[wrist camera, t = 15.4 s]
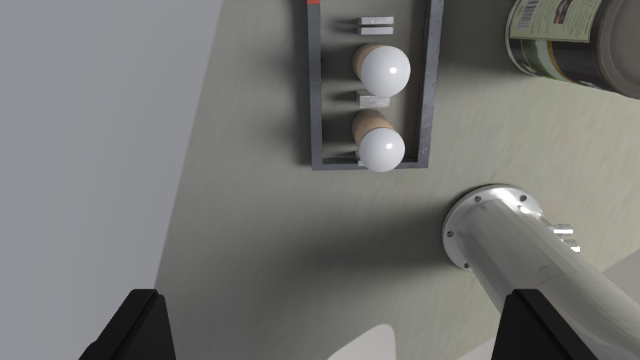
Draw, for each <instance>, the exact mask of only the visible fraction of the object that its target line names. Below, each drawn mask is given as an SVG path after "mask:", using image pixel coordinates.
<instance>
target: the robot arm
mask: <svg viewBox="0 0 640 360" xmlns="http://www.w3.org/2000/svg"><path fill="white" fill-rule="evenodd" d="M572 231H573V230H572V227H571V225H569V224H558V225H552V224H551V223H549V222H548V221H547V220H546V219H545V218H544V213H543V211H542V208H541V206H540V205H539V203H538V202H537V201H536V199H535V198H533V197H532V196H531V195H530V194H529V193H527V192H526V191H524V190H523V189H521V188H518V187H515V186H512V185H505V184H494V185H489V186H484V187H481V188H478V189H476V190H474V191H472V192H470V193H468V194H466V195H465V196H464V197H462V198H461V199H460V200H459V201H457V203H456V204H455V205H454V206H453V207H452V208H451V209H450V211H449V213H448V214H447V216H446V218H445V221H444V223H443V227H442V243H443V247H444V249H445V251H446V253H447V255H448V256H449V258H450V259H451V260H452V262H453V263H455V264H456V265H457V266H458V267H460V268H461V269H463V270H465V271H468V272H471V273H474V274H475V276H476V277H477V279H478V280H479V282H480V283H481V285H482V286H483V288H484V289H485V291H486V293H487V294H488V296H489V297H490V299H491V300H492V302H493V303H494V305H495V307H496V308H497V310H498V311H499V313H500V314H501V319H500V324H499V328H498V332H497V336H496V341H495V345H494V349H493V353H492V358H491V360H640V306H639V305H638V304H637V303H635V302H634V301H633V300H632V299H630V298H629V297H628V296H627V295H626V294H624V293H623V292H622V291H621V290H620V289H618V288H617V287H616V286H615V285H614V284H613V283H612V282H610V281H609V280H608V279H607V278H606V277H604V276H603V275H602V274H601V273H600V272H599V271H598V270H597V269H595V268H594V267H593V266H592V265H591V264H590V263H588V262H587V261H586V260H585V259H584V258H583V257H581V256H580V255H579V254H578V252H579V246H578V243H577V242H576V241H575V240H562V239H561V238H560V237H558V236H570V235H571V234H572ZM557 235H558V236H557ZM79 360H176V356H175V351H174V345H173V340H172V335H171V329H170V324H169V318H168V313H167V308H166V302H165V298H164V296H163V295H159V294H158V291H157V290H156V289H134V290H132V291H131V292H130V293H129V295H128V296H127V298H126V299H125V300H124V302H123V303H122V305H121V306H120V307H119V309H118V310H117V312H116V313H115V315H114V316H113V317H112V319H111V320H110V322H109V323H108V324H107V326H106V327H105V329H104V330H103V331H102V333H101V334H100V336H99V337H98V339H97V340H96V341H95V342H93V343H91V344H90V345H89V346H88V347H87V349H86V350H85V351H84V353H83V354H82V355H81V357H80V358H79Z"/></svg>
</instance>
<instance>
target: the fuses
mask: <svg viewBox="0 0 640 360" xmlns="http://www.w3.org/2000/svg"><path fill="white" fill-rule="evenodd" d="M352 66H353V70H354V72H355V74H356V75H357V77H358V78H359V79H360V80H361V81H362V83H363V85H364V87H365V88H366V89H367V90H368V91H369V92H370V93H372V94H373V95H375V96H378V97H390V96H393V95H395V94H397V93H398V92H400V91H401V90H402V89H403V88H404V87H405V85H406V84H407V82H408V80H409V76H410V63H409V60H408V58H407V57H406V55H405V54H404V53H403V52H402V51H401V50H399V49H398V48H395V47H392V46H384V45H380V44H377V43H367V44H364V45H362V46H361V47H360V48H358V50H357V51H356V52H355V54H354V56H353V60H352ZM351 129H352V133H353V136H354V139H355V142H356V145H357V147H358V151H359V156H360V159H361V161H362V163H363V164H364V165H365V166H366V167H367V168H368V169H370V170H372V171H375V172H386V171H389V170H391V169H393V168H395V167H396V166H397V165H398V164H399V163H400V162H401V160H402V158H403V156H404V152H405V146H404V142H403V140H402V138H401V137H400V135H399V134H398V133H397V132H396V131H394V129H393V128H392V127H391V125H390V124H389V123H388V121H387V120H386V119H385V117H384V116H383V115H382V114H381V113H380V112H378V111H377V110H373V109H366V110H363V111H361V112H359V113H358V114H357V115H356V116H355V117H354V119H353V121H352V125H351Z"/></svg>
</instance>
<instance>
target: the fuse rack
mask: <svg viewBox="0 0 640 360" xmlns="http://www.w3.org/2000/svg"><path fill="white" fill-rule="evenodd" d="M443 7H444V0H426V9H425V21H424V33H423V46H422V58H421V70H420V83H419V95H418V107H417V120H416V132H415V144H414V157H403V158H402V160H401V162H400V163H399V164H398V165H397V166H396V167H395V168H393V169H402V168H428V161H429V151H430V141H431V130H432V120H433V110H434V100H435V89H436V79H437V69H438V59H439V48H440V38H441V28H442V18H443ZM307 9H308V45H309V81H310V117H311V153H312V170H356V169H368V168H367V167H366V166H365V165H364V164H363V163H362V161H361V159H360V156H359V151H355V157H356V158H328V159H322V107H321V46H320V0H307ZM393 19H394V17H362V18H358V24H393ZM357 34H361V35H366V34H393V27H365V28H358V32H357ZM356 102H357V104H358V106H359V107H360V108H369V107H389V97H378V96H375V95H373V94H372V93H370V92H369V91H368V90H356Z"/></svg>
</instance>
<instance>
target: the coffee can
mask: <svg viewBox="0 0 640 360" xmlns="http://www.w3.org/2000/svg"><path fill="white" fill-rule="evenodd" d="M505 42H506V48H507V52H508V54H509V56H510V58H511V60H512V61H513V63H514V64H515V65H516V66H517V67H518V68H519V69H520V70H522V71H523V72H525V73H527V74H530V75H533V76H538V77H546V78H551V79H555V80H560V81H565V82H570V83H574V84H579V85H583V86H587V87H592V88H597V89H601V90H606V91H611V92H616V93H619V94H621V95H623V96H626V97H630V98H634V99H639V100H640V0H517V1H516V2H515V4H514V5H513V7H512V9H511V11H510V14H509V16H508V20H507V24H506V29H505Z"/></svg>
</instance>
